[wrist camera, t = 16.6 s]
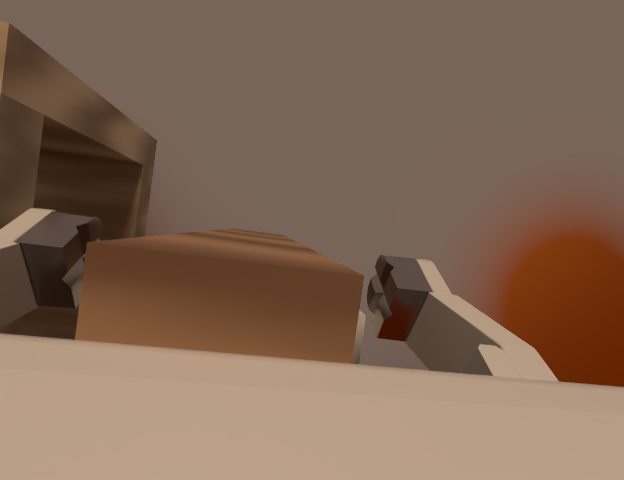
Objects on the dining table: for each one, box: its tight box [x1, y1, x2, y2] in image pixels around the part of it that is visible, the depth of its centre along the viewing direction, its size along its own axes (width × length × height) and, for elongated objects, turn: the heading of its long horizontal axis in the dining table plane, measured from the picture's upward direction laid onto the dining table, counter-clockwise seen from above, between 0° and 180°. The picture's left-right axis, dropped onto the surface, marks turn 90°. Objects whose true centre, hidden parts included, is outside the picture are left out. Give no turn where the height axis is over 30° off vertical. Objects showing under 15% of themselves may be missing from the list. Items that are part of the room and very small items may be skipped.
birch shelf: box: [0, 21, 157, 340], centre depth 17 cm, size 14×7×26 cm, turn 8°
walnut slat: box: [75, 229, 364, 364], centre depth 17 cm, size 24×4×2 cm, turn 8°
